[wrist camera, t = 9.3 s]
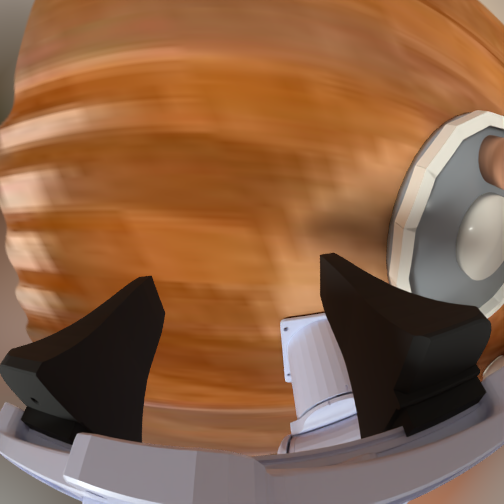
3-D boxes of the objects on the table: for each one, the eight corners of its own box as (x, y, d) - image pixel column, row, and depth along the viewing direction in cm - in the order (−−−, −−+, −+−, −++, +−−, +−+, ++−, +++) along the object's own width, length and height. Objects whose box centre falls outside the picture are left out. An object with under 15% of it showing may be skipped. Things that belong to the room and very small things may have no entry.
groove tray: (504, 300, 25) (514, 309, 23) (371, 345, 26) (378, 361, 24) (534, 130, 15) (548, 134, 12) (385, 95, 16) (402, 93, 13)
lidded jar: (490, 379, 36) (506, 407, 28) (466, 387, 36) (483, 420, 27) (516, 343, 32) (536, 371, 23) (496, 349, 31) (519, 382, 22)
